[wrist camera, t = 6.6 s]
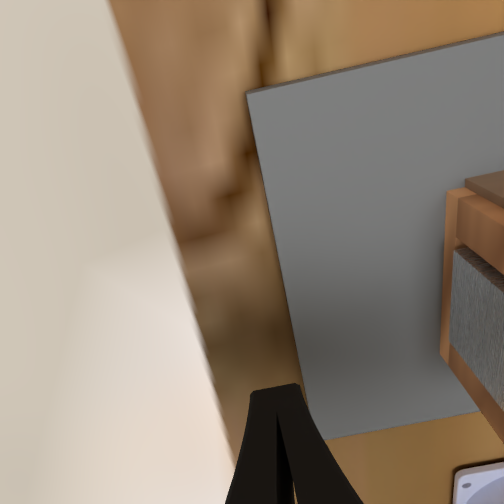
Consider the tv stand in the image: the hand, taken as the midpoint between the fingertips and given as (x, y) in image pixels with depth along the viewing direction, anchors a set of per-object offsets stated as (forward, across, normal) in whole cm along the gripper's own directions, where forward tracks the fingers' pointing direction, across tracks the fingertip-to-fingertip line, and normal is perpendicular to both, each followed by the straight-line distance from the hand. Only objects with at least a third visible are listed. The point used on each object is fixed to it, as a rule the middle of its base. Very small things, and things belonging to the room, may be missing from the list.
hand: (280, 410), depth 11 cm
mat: (+5, -9, 0) cm, 11 cm away
